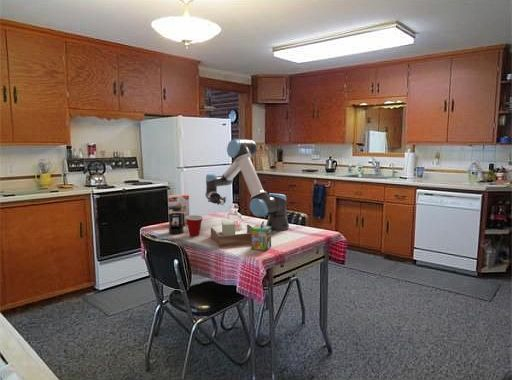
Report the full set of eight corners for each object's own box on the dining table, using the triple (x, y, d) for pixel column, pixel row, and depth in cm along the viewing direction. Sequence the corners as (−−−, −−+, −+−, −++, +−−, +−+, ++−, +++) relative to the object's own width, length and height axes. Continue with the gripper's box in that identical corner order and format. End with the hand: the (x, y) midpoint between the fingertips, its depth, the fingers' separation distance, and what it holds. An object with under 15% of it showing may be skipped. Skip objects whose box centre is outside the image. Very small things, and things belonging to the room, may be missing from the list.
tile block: (222, 232, 235) (221, 219, 234) (233, 231, 236) (232, 219, 235) (223, 237, 221) (223, 224, 220) (235, 237, 222) (235, 224, 221)
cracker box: (169, 226, 251) (168, 196, 249) (169, 224, 257) (168, 195, 254) (190, 225, 255) (189, 195, 252) (189, 223, 260) (188, 194, 258)
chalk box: (255, 244, 205) (255, 219, 203) (271, 246, 202) (271, 219, 200) (250, 249, 196) (250, 222, 194) (267, 251, 193) (267, 223, 191)
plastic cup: (196, 238, 219) (195, 219, 217) (182, 236, 224) (181, 217, 222) (207, 234, 228) (206, 215, 226) (193, 232, 233) (192, 214, 232)
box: (210, 237, 221) (210, 227, 220) (248, 233, 229) (248, 224, 228) (219, 247, 201) (219, 236, 200) (260, 242, 209) (260, 232, 208)
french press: (173, 235, 227) (172, 199, 224) (164, 233, 233) (163, 197, 230) (188, 231, 236) (187, 196, 232) (179, 229, 242) (178, 195, 238)
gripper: (223, 202, 261) (232, 208, 239) (205, 203, 257) (212, 209, 235) (223, 191, 260) (232, 197, 238) (205, 192, 256) (212, 198, 234)
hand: (222, 203), depth 236 cm, fingers closed
